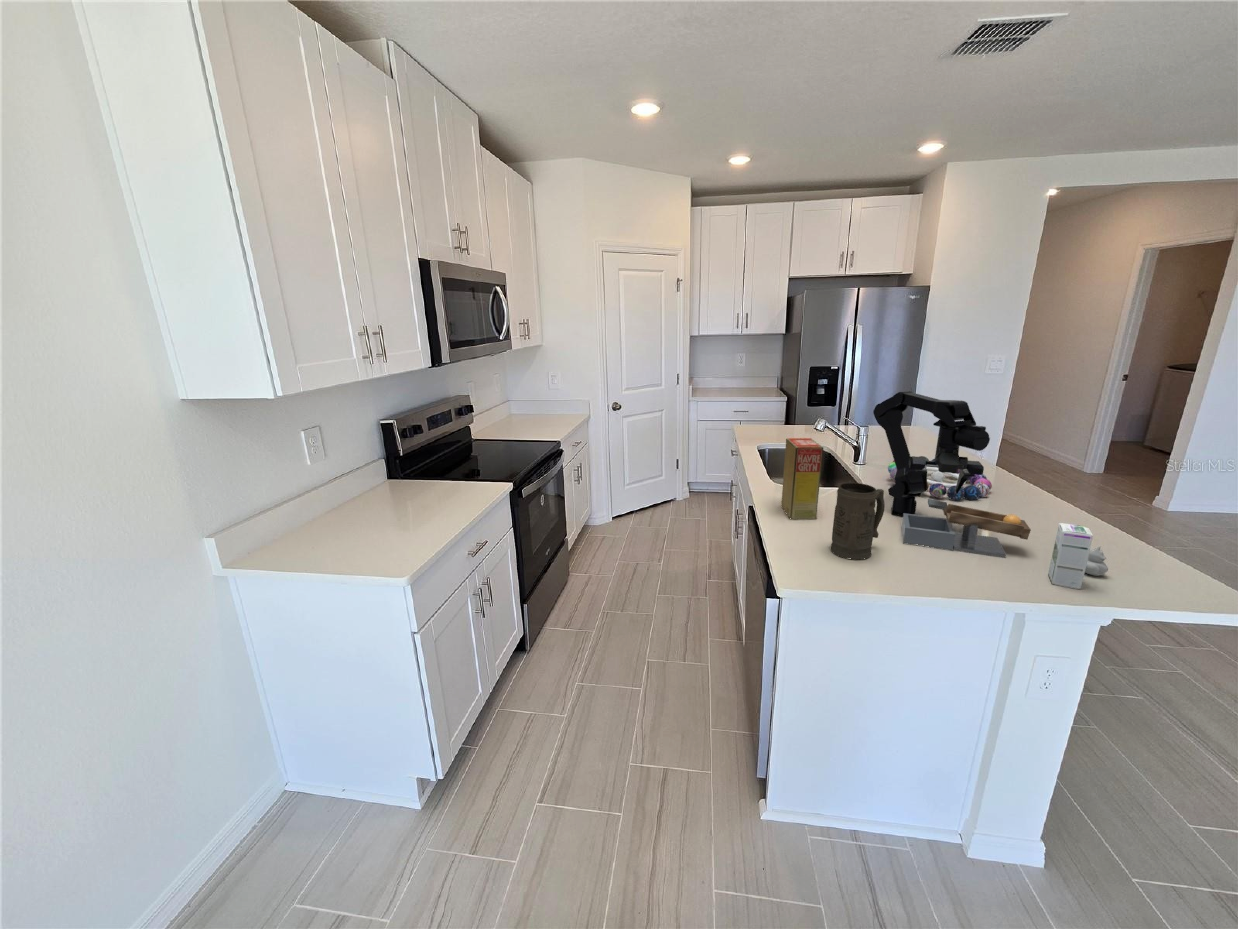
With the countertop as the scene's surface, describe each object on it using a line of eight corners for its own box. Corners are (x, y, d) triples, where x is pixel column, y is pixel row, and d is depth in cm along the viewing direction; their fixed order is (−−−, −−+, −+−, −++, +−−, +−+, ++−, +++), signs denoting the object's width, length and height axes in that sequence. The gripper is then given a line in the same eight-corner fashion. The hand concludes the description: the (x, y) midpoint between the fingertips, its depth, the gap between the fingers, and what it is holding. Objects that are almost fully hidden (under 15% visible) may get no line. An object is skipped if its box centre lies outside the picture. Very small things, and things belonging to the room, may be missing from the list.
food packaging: (818, 519, 168) (824, 446, 161) (789, 519, 168) (794, 447, 162) (806, 505, 181) (811, 437, 174) (779, 505, 181) (784, 437, 174)
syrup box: (1081, 590, 122) (1095, 534, 118) (1050, 584, 125) (1062, 530, 121) (1076, 579, 126) (1090, 526, 122) (1046, 574, 129) (1058, 521, 125)
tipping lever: (932, 519, 146) (935, 508, 145) (927, 501, 160) (930, 491, 159) (1027, 539, 137) (1031, 528, 136) (1013, 518, 151) (1017, 508, 150)
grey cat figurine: (1103, 581, 125) (1111, 552, 123) (1068, 571, 130) (1075, 543, 128) (1108, 574, 128) (1115, 545, 126) (1074, 565, 134) (1081, 537, 131)
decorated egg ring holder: (988, 521, 174) (996, 498, 171) (879, 496, 191) (884, 475, 188) (984, 486, 202) (991, 466, 199) (889, 467, 219) (893, 448, 215)
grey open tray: (903, 543, 149) (905, 527, 148) (901, 527, 160) (903, 513, 158) (952, 550, 144) (955, 534, 142) (947, 534, 154) (949, 518, 153)
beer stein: (851, 564, 137) (863, 494, 132) (820, 549, 147) (829, 483, 142) (888, 554, 144) (900, 488, 139) (855, 541, 154) (866, 478, 149)
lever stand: (953, 550, 144) (958, 524, 141) (948, 534, 154) (952, 509, 152) (1005, 557, 138) (1010, 531, 136) (996, 540, 149) (1001, 515, 147)
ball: (1001, 520, 140) (1018, 515, 138) (998, 515, 143) (1015, 510, 141) (1008, 533, 140) (1025, 528, 138) (1005, 527, 143) (1021, 523, 141)
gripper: (915, 446, 148) (908, 496, 152) (992, 452, 140) (982, 504, 145) (911, 438, 158) (905, 485, 162) (983, 442, 150) (974, 492, 154)
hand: (940, 491), depth 156 cm, fingers open, 8 cm apart
